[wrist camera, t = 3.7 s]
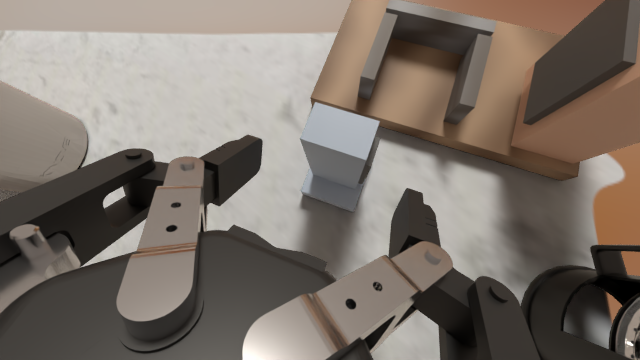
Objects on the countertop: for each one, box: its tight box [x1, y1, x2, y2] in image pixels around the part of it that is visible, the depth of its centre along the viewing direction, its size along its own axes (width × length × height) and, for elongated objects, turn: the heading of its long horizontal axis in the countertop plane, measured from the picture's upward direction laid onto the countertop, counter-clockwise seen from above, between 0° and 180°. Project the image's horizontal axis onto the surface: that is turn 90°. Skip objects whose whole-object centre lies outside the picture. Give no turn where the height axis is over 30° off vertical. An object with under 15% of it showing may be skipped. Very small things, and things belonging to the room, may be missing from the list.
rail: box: [311, 0, 580, 181], centre depth 22 cm, size 24×14×4 cm, turn 70°
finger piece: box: [300, 102, 380, 212], centre depth 18 cm, size 5×6×10 cm
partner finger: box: [511, 0, 640, 164], centre depth 17 cm, size 6×8×10 cm
